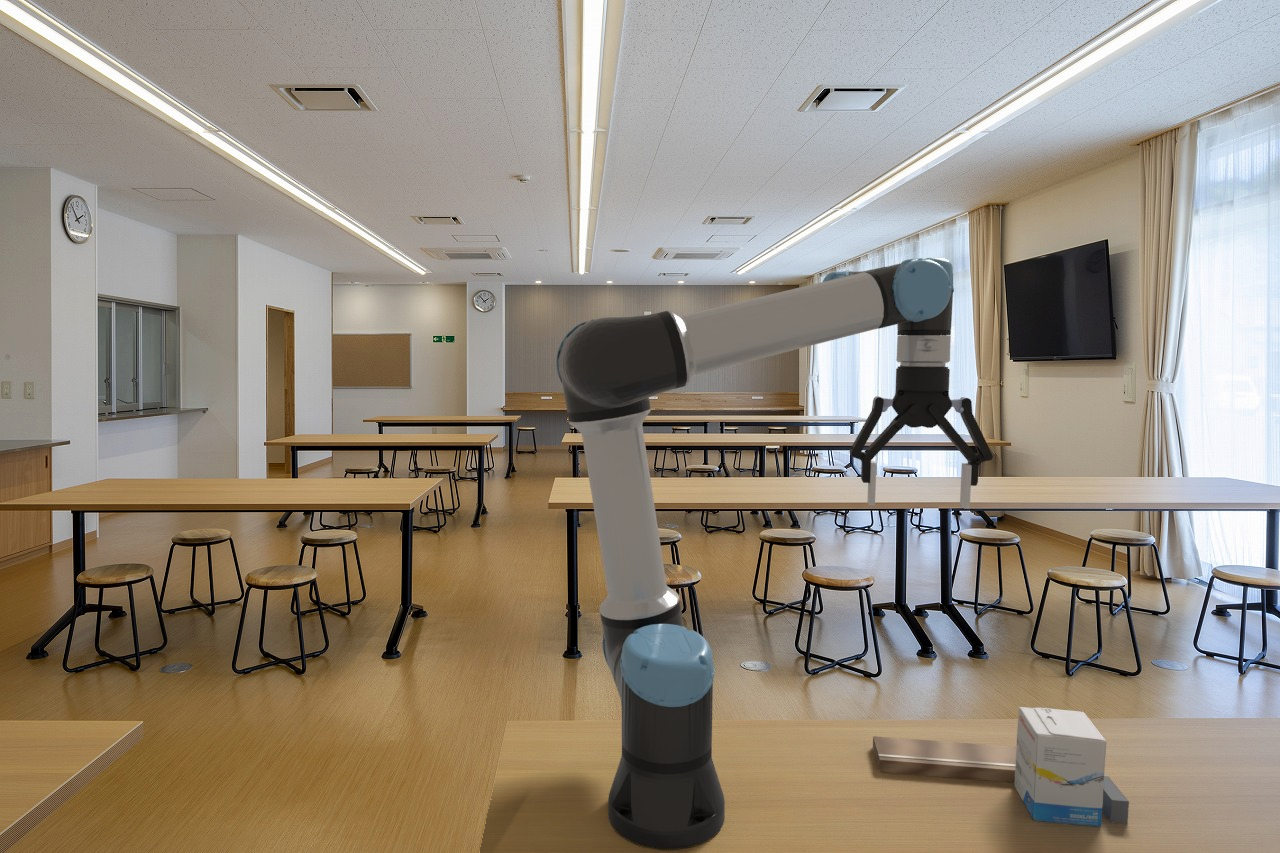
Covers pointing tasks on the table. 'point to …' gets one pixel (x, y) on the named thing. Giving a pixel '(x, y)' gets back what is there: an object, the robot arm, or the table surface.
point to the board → (945, 759)
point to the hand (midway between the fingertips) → (917, 505)
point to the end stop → (1114, 802)
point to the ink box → (1060, 766)
